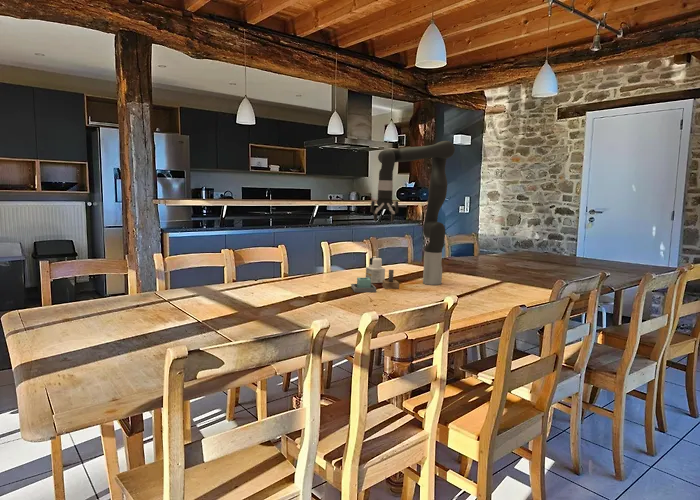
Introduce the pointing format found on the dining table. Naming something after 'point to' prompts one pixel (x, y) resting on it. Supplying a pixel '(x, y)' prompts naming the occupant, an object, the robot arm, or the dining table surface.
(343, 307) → the dining table surface
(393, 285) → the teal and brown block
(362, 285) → the teal collar
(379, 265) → the container
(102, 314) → the dining table surface
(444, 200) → the robot arm
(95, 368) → the dining table surface
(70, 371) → the dining table surface
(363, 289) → the charcoal tray
